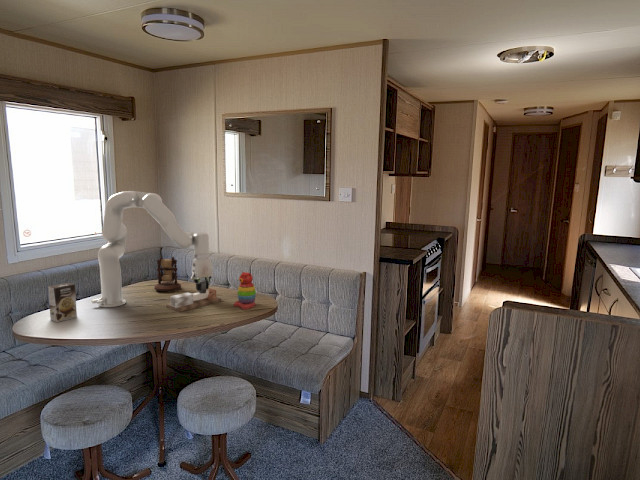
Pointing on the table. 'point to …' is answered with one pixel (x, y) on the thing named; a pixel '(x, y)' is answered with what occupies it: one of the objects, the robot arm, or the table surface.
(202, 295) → the white block with knob
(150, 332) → the table surface
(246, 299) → the stacking bear
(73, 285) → the coffee box
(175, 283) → the wooden spool holder
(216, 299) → the wooden board
